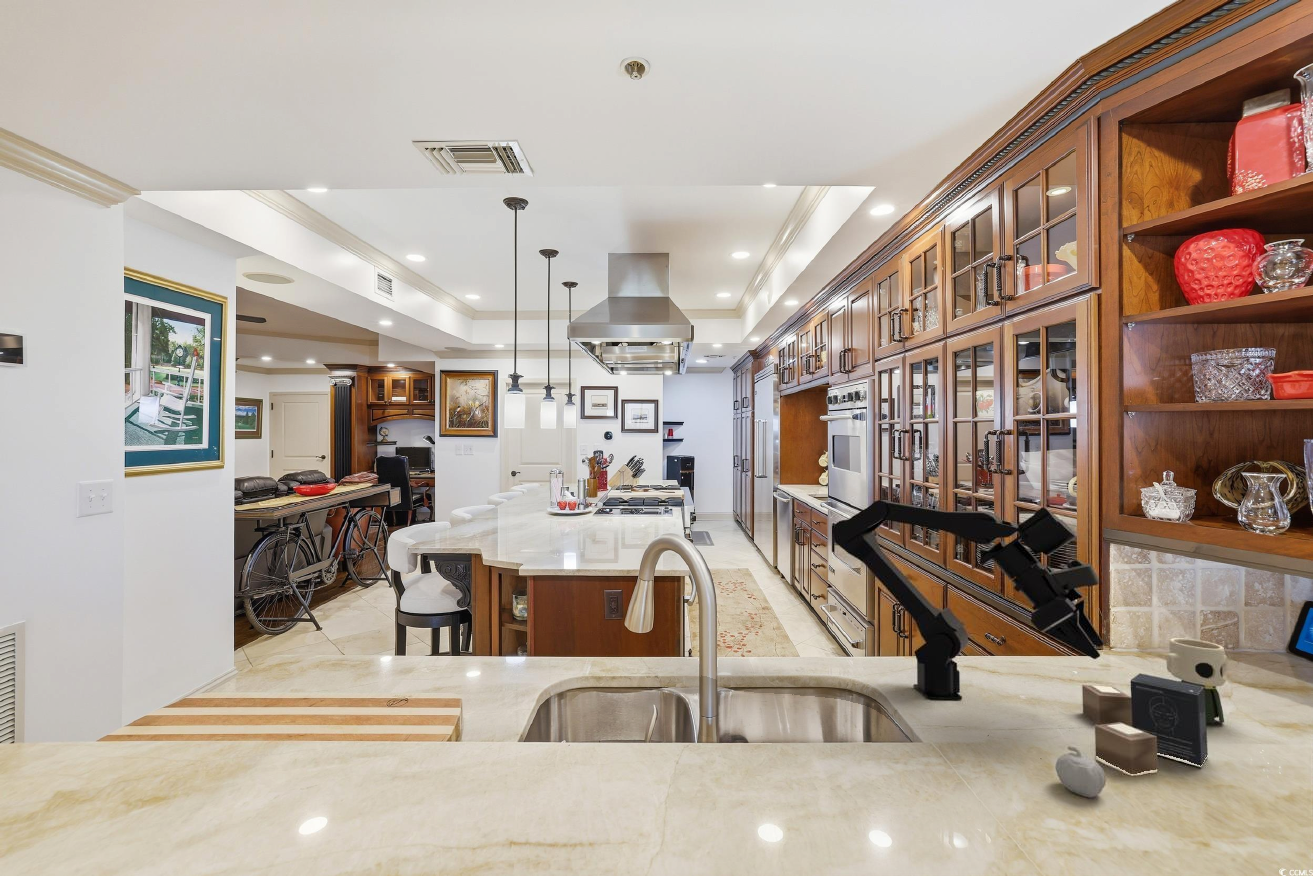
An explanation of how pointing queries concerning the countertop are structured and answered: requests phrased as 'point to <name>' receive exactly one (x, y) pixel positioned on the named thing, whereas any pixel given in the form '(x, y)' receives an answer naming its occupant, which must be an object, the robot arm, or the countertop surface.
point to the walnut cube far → (1106, 705)
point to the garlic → (1080, 773)
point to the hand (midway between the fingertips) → (1099, 651)
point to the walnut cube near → (1126, 747)
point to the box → (1171, 716)
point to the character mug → (1200, 670)
